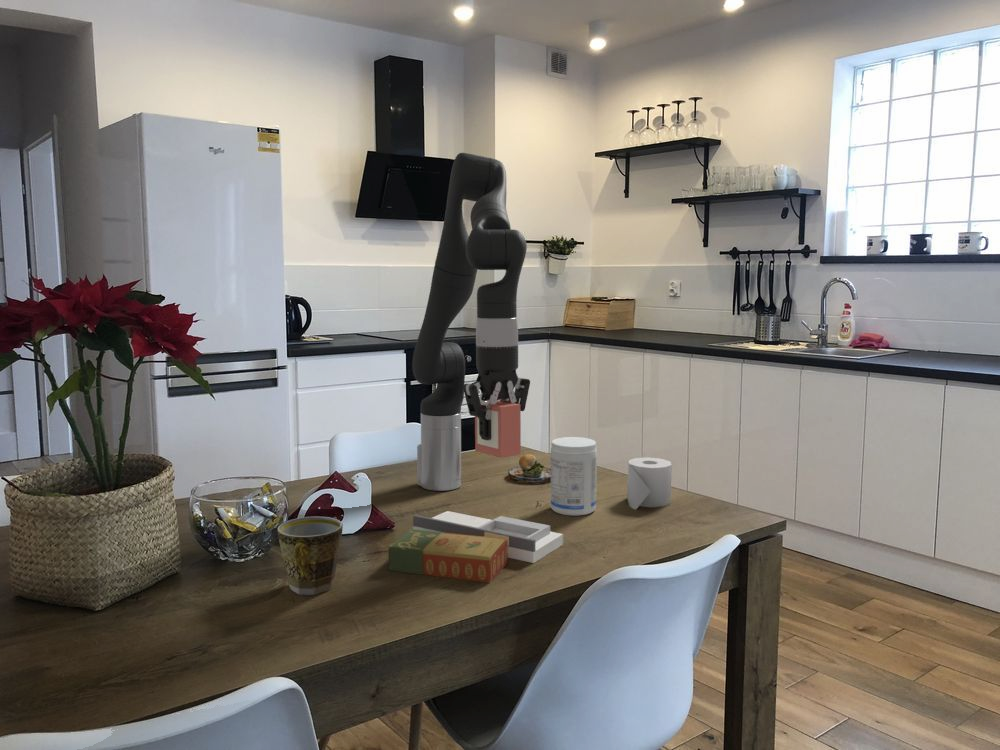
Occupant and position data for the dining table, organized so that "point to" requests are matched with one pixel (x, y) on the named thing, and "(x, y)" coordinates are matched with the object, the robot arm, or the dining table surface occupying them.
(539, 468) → the burger
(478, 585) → the dining table surface
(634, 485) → the toilet tissue
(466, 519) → the shelf strip
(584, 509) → the supplement tub
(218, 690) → the dining table surface
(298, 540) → the ceramic cup
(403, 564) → the carton
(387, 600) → the dining table surface
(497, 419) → the tea box
